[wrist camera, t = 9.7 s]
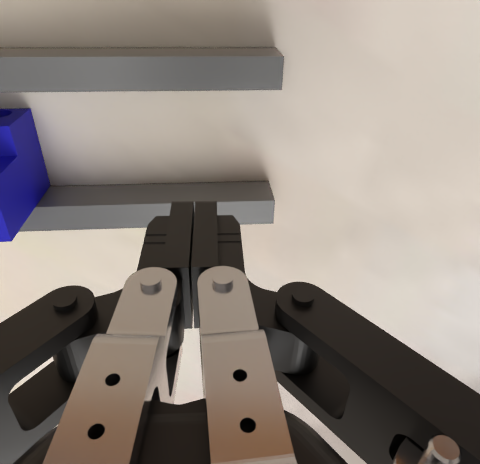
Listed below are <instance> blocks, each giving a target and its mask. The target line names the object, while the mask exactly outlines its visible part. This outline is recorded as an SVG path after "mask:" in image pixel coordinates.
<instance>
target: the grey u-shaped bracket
mask: <svg viewBox="0 0 480 464" xmlns="http://www.w3.org/2000/svg"><path fill="white" fill-rule="evenodd" d="M283 64H284V56H283V55H282V54H281V53H280V52H279V50H278V49H277V48H0V92H93V91H210V90H282V79H283ZM172 201H194V212H195V201H217V215H233V216H234V217H235V219H236V220H237V221H238V222H239V223H240V224H271V223H273V221H274V205H275V200H274V196H273V193H272V190H271V187H270V184H269V181H249V182H208V183H167V184H126V185H85V186H50V187H49V188H48V190H47V191H46V193H45V194H44V195H43V197H42V198H41V200H40V201H39V203H38V204H37V205H36V207H35V208H34V210H33V211H32V213H31V214H30V216H29V217H28V218H27V220H26V221H25V223H24V224H23V226H22V227H21V228H20V230H19V231H18V232H20V231H51V230H83V229H114V228H145V227H147V226H148V224H149V223H150V222H151V221H152V220H153V219H154V218H155V217H156V216H169V215H170V209H171V203H172Z"/></svg>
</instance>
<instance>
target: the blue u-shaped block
mask: <svg viewBox="0 0 480 464" xmlns="http://www.w3.org/2000/svg"><path fill="white" fill-rule="evenodd" d="M49 187H50V182H49V178H48V174H47V170H46V166H45V162H44V159H43V155H42V151H41V147H40V143H39V139H38V136H37V132H36V128H35V124H34V120H33V116H32V112H31V109H30V108H27V109H0V242H6V241H12V240H13V238H14V237H15V236H16V234H17V233H18V231H19V230H20V228H21V227H22V226H23V224H24V223H25V221H26V220H27V218H28V217H29V216H30V214H31V213H32V211H33V210H34V208H35V207H36V205H37V204H38V203H39V201H40V200H41V198H42V197H43V195H44V194H45V193H46V191H47V190H48V188H49Z"/></svg>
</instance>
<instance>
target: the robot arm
mask: <svg viewBox="0 0 480 464" xmlns="http://www.w3.org/2000/svg"><path fill="white" fill-rule="evenodd" d="M193 311H194V328H199V330H200V352H201V367H202V382H203V397H204V399H200V400H197V401H193V402H189V403H186V404H181V405H176V404H174V398H175V392H176V386H177V380H178V374H179V368H180V362H181V356H182V342H183V338H184V329H186V328H192V322H193ZM52 356H53V359H54V361H53V362H51V363H50V364H49V365H47V366H46V367H45V368H43V369H42V370H41V371H39V372H38V373H37V374H35V375H34V376H33V377H31V378H30V379H29V380H27V381H26V382H25V383H23V384H22V385H21V386H20V387H18V388H17V389H16V390H14V391H13V392H12V393H10V391H11V389H12V388H13V387H14V385H15V384H16V383H18V382H19V381H20V380H21V379H23V378H24V377H25V376H27V375H28V374H29V373H31V372H32V371H33V370H35V369H36V368H37V367H39V366H40V365H42V364H43V363H44V362H46V361H47V360H48V359H50V358H51V357H52ZM277 382H279V383H280V384H281V385H282V386H283V387H284V388H285V389H286V390H287V391H288V392H289V393H291V394H292V395H293V396H294V397H295V398H296V399H297V400H298V401H299V402H300V403H301V404H303V405H304V406H305V407H306V408H307V409H308V410H309V411H310V412H311V413H312V414H313V415H315V416H316V417H317V418H318V419H319V420H320V421H321V422H322V423H323V424H324V425H325V426H327V427H328V428H329V429H330V430H331V431H332V432H333V433H334V434H335V435H336V436H337V437H339V438H340V439H341V440H342V441H343V442H344V443H345V444H346V445H347V446H348V447H349V448H351V449H352V450H353V451H354V452H355V453H356V454H357V455H358V456H360V458H362V459H363V460H364V461H365V462H366V463H367V464H480V394H479V393H477V392H476V391H474V390H473V389H471V388H470V387H468V386H467V385H465V384H464V383H462V382H461V381H459V380H458V379H456V378H455V377H453V376H452V375H450V374H448V373H447V372H445V371H444V370H442V369H441V368H439V367H438V366H436V365H435V364H433V363H432V362H430V361H429V360H427V359H426V358H424V357H423V356H421V355H420V354H418V353H417V352H415V351H414V350H412V349H411V348H409V347H408V346H406V345H405V344H403V343H402V342H400V341H399V340H397V339H396V338H394V337H393V336H391V335H390V334H388V333H387V332H385V331H384V330H382V329H381V328H379V327H378V326H376V325H375V324H373V323H372V322H370V321H369V320H367V319H366V318H364V317H363V316H361V315H360V314H358V313H357V312H355V311H354V310H352V309H351V308H349V307H348V306H346V305H345V304H343V303H342V302H340V301H339V300H337V299H336V298H334V297H333V296H331V295H330V294H328V293H327V292H325V291H324V290H322V289H321V288H319V287H317V286H315V285H313V284H310V283H306V282H292V283H288V284H286V285H284V286H282V287H281V288H280V289H279V290H278V292H274V291H269V290H265V289H262V288H260V287H258V286H256V285H254V284H253V283H251V282H250V281H249V280H248V278H247V277H246V275H245V270H244V260H243V250H242V241H241V231H240V223H239V222H238V221H237V220H236V219H235V217H234V216H233V215H217V201H195V212H194V201H172V203H171V209H170V215H169V216H156V217H155V218H154V219H153V220H152V221H151V222H150V223H149V224H148V226H147V230H146V234H145V238H144V244H143V247H142V251H141V256H140V260H139V264H138V268H137V271H136V272H135V273H133V274H132V275H131V276H129V278H128V279H127V280H126V282H125V285H124V287H123V289H121V290H119V291H116V292H114V293H110V294H106V295H102V296H98V297H94V295H93V293H92V292H91V291H90V290H89V289H87V288H85V287H82V286H66V287H61V288H58V289H56V290H53V291H52V292H50V293H48V294H46V295H45V296H43V297H42V298H40V299H38V300H37V301H35V302H34V303H32V304H30V305H29V306H27V307H26V308H24V309H22V310H21V311H19V312H17V313H16V314H14V315H13V316H11V317H9V318H8V319H6V320H5V321H3V322H1V323H0V464H348V463H346V462H345V460H344V459H343V458H341V456H339V454H338V453H337V452H336V451H335V450H334V449H333V448H332V447H331V446H330V445H329V444H328V443H327V442H326V441H325V440H324V439H323V438H322V437H321V436H320V435H319V434H318V433H317V432H316V431H315V430H314V429H313V428H311V427H310V426H309V425H308V424H306V423H305V422H304V421H303V420H301V419H300V418H298V417H296V416H295V415H293V414H291V413H289V412H287V411H285V410H284V409H283V405H282V401H281V397H280V393H279V388H278V384H277ZM9 393H10V394H9ZM57 425H58V426H57ZM56 426H57V427H56ZM54 427H55V428H54ZM53 428H54V429H53Z"/></svg>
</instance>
